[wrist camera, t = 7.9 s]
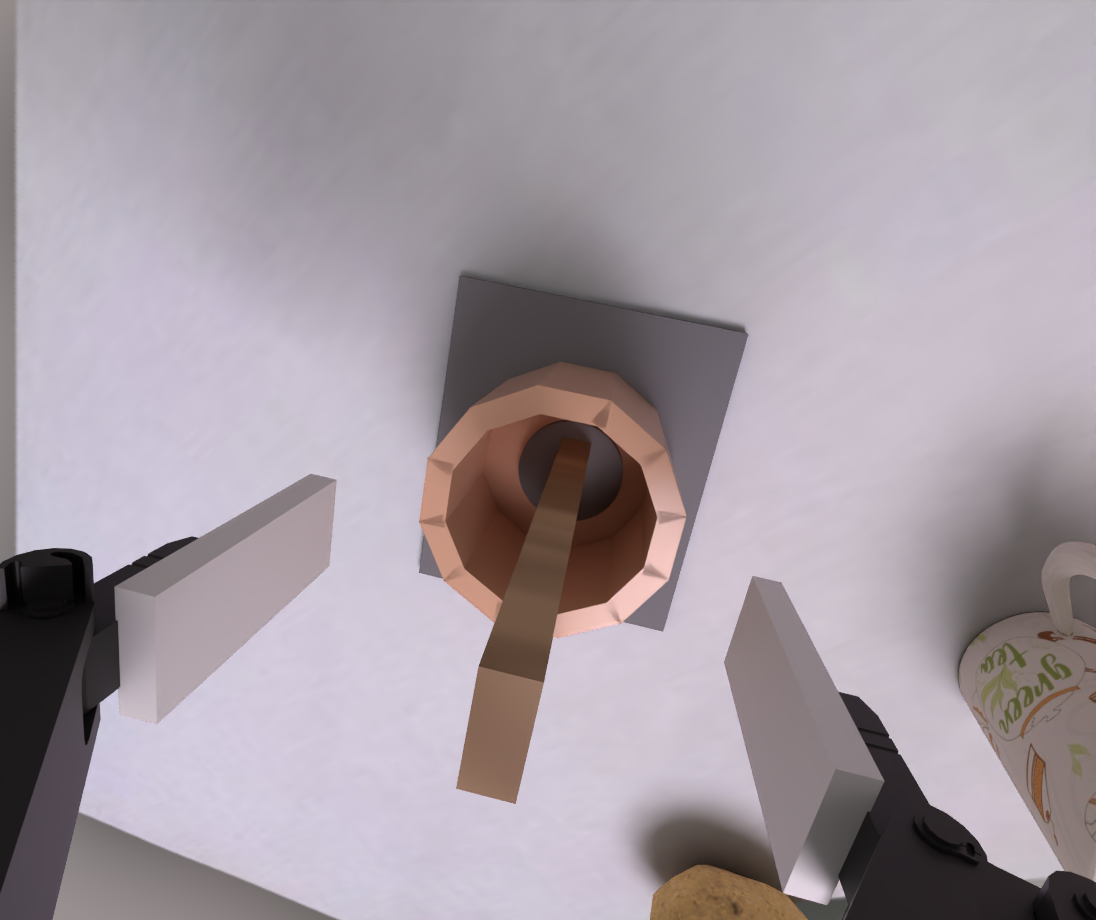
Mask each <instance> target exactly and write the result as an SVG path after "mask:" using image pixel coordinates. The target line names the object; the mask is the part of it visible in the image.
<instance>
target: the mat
mask: <svg viewBox="0 0 1096 920" xmlns="http://www.w3.org/2000/svg"><path fill="white" fill-rule="evenodd" d="M747 337H748V334H747V333H743V332H738V331H733V330H728V329H723V328H718V327H713V326H708V325H703V324H698V323H693V322H688V321H683V320H678V319H673V318H668V317H663V316H658V315H653V314H648V313H643V312H638V311H633V310H628V309H623V308H618V307H613V306H608V305H603V304H598V303H593V302H588V301H583V300H578V299H573V298H568V297H563V296H558V295H553V294H548V293H544V292H539V291H534V290H529V289H524V288H519V287H514V286H509V285H504V284H499V283H494V282H489V281H484V280H479V279H474V278H469V277H464V276H460V278H459V285H458V293H457V300H456V307H455V314H454V322H453V329H452V336H451V343H450V351H449V358H448V365H447V373H446V380H445V387H444V394H443V402H442V409H441V416H440V424H439V431H438V438H437V445H436V448H437V447H438V446H439V444H440V443H441V442H442V441H443V440H444V438H445V437H446V436H447V435H448V434H449V432H450V431H451V430H452V429H453V428H454V426H455V425H456V424H457V423H458V422H459V420H460V419H461V418H462V417H463V416H464V414H465V413H466V412H467V411H468V410H469V409H470V407H471V406H473V405H474V404H475V403H477V402H478V401H480V400H481V399H482V398H484V397H485V396H486V395H488V394H489V393H490V392H492V391H493V390H495V389H496V388H497V387H499V386H500V385H501V384H503V383H504V382H506V381H507V380H508V379H510V378H513V377H516V376H519V375H522V374H525V373H528V372H531V371H534V370H537V369H540V368H543V367H546V366H549V365H552V364H555V363H558V362H560V361H561V362H566V363H571V364H575V365H580V366H585V367H590V368H595V369H599V370H604V371H609V372H614V373H616V374H618V375H619V376H620V377H621V378H622V379H623V380H624V381H625V382H626V383H627V384H629V385H630V386H631V387H632V388H633V389H634V390H635V391H636V392H637V393H639V394H640V395H641V396H642V397H643V398H644V399H645V400H646V401H647V402H649V403H650V404H651V405H652V406H653V407H654V408H655V409H656V410H657V411H658V415H659V418H660V421H661V425H662V428H663V431H664V435H665V438H666V441H667V445H668V448H669V451H670V454H671V458H672V461H673V464H674V468H675V472H676V476H677V480H678V484H679V488H680V492H681V496H682V500H683V503H684V507H685V511H686V515H687V517H686V520H685V524H684V528H683V531H682V535H681V538H680V542H679V545H678V549H677V552H676V556H675V559H674V563H673V567H672V570H671V574H670V577H669V581H667V582H666V583H665V584H664V585H663V586H662V587H661V588H659V589H658V590H657V591H656V592H655V593H654V594H653V595H652V596H651V597H650V598H648V599H647V600H646V601H645V602H644V603H643V604H642V605H641V606H640V607H639V608H637V609H636V610H635V611H634V612H633V613H632V614H631V615H630V616H629V617H628V618H626V619H625V620H624V621H623V622H626V623H630V624H634V625H638V626H643V627H647V628H651V629H655V630H659V631H663V630H664V626H665V623H666V619H667V616H668V612H669V609H670V605H671V602H672V598H673V595H674V591H675V588H676V584H677V581H678V577H679V574H680V571H681V567H682V564H683V560H684V557H685V553H686V550H687V546H688V543H689V539H690V536H691V532H692V529H693V525H694V522H695V518H696V515H697V511H698V508H699V504H700V501H701V497H702V494H703V490H704V487H705V483H706V480H707V476H708V473H709V470H710V466H711V463H712V459H713V456H714V452H715V449H716V445H717V442H718V438H719V435H720V431H721V428H722V424H723V421H724V417H725V414H726V410H727V407H728V403H729V400H730V396H731V393H732V389H733V386H734V382H735V379H736V375H737V372H738V368H739V365H740V362H741V358H742V355H743V351H744V348H745V344H746V341H747ZM419 573H422V574H426V575H431V576H435V577H439V578H443V577H442V575H441V572H440V570H439V568H438V565H437V563H436V560H435V558H434V556H433V553H432V551H431V548H430V546H429V544H428V541H427V539H426V536H425V534H424V540H423V547H422V555H421V562H420V569H419Z"/></svg>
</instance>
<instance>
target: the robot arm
mask: <svg viewBox="0 0 1096 920" xmlns="http://www.w3.org/2000/svg"><path fill="white" fill-rule="evenodd" d="M335 492H336V480H335V479H331V478H327V477H322V476H318V475H314V474H310V475H308V476H306V477H305V478H303V479H301V480H299V481H298V482H296V483H294V484H292V485H291V486H289V487H287V488H285V489H284V490H282V491H280V492H278V493H277V494H275V495H273V496H271V497H270V498H268V499H266V500H264V501H263V502H261V503H259V504H258V505H256V506H254V507H252V508H251V509H249V510H247V511H245V512H244V513H242V514H240V515H238V516H237V517H235V518H233V519H231V520H230V521H228V522H226V523H224V524H223V525H221V526H219V527H217V528H216V529H214V530H212V531H211V532H209V533H207V534H205V535H204V536H202V537H200V538H196V537H188V538H185V539H181V540H178V541H174V542H171V543H167V544H165V545H164V546H162V547H160V548H158V549H156V550H154V551H153V552H151V553H149V554H148V556H143V557H142V558H140V559H138V560H136V561H134V562H133V563H132V565H127V566H125V567H123V568H121V569H120V570H118V571H116V572H114V573H112V574H110V575H109V576H107V577H105V578H103V579H101V580H99V581H98V582H96V583H94V581H93V563H92V557H91V556H90V555H88V554H87V553H85V552H83V551H79V550H74V549H63V548H51V549H43V550H35V551H31V552H27V553H23V554H19V555H16V556H14V557H12V558H10V559H7V560H5V561H3V562H2V563H1V564H0V920H52V919H53V915H54V911H55V906H56V902H57V898H58V894H59V890H60V885H61V881H62V877H63V873H64V869H65V865H66V861H67V856H68V852H69V848H70V844H71V840H72V835H73V831H74V827H75V823H76V819H77V815H78V810H79V806H80V802H81V798H82V794H83V790H84V785H85V781H86V777H87V773H88V769H89V765H90V760H91V756H92V752H93V748H94V744H95V740H96V735H97V731H98V727H99V723H100V702H101V701H103V700H104V699H105V698H107V697H108V696H109V695H110V694H112V693H113V692H114V691H116V690H117V689H118V695H119V714H120V715H124V716H128V717H131V718H135V719H139V720H143V721H146V722H150V723H154V724H158V723H159V722H160V721H161V720H162V719H163V718H164V717H165V716H166V715H167V714H169V713H170V712H171V711H172V710H173V709H174V708H175V707H176V706H177V705H178V704H179V703H181V702H182V701H183V700H184V699H185V698H186V697H187V696H188V695H189V694H190V693H191V692H193V691H194V690H195V689H196V688H197V687H198V686H199V685H200V684H201V683H202V682H203V681H205V680H206V679H207V678H208V677H209V676H210V675H211V674H212V673H213V672H214V671H215V670H217V669H218V668H219V667H220V666H221V665H222V664H223V663H224V662H225V661H226V660H227V659H229V658H230V657H231V656H232V655H233V654H234V653H235V652H236V651H237V650H238V649H239V648H241V647H242V646H243V645H244V644H245V643H246V642H247V641H248V640H249V639H250V638H251V637H253V636H254V635H255V634H256V633H257V632H258V631H259V630H260V629H261V628H262V627H263V626H265V625H266V624H267V623H268V622H269V621H270V620H271V619H272V618H273V617H274V616H275V615H277V614H278V613H279V612H280V611H281V610H282V609H283V608H284V607H285V606H286V605H287V604H289V603H290V602H291V601H292V600H293V599H294V598H295V597H296V596H297V595H298V594H299V593H301V592H302V591H303V590H304V589H305V588H306V587H307V586H308V585H309V584H310V583H311V582H313V581H314V580H315V579H316V578H317V577H318V576H319V575H320V574H321V573H322V572H323V571H325V570H326V569H327V568H328V567H329V562H330V550H331V539H332V527H333V515H334V504H335ZM724 663H725V667H726V671H727V675H728V679H729V683H730V687H731V691H732V695H733V699H734V703H735V707H736V710H737V714H738V718H739V722H740V726H741V730H742V734H743V738H744V742H745V746H746V750H747V754H748V758H749V762H750V766H751V769H752V773H753V777H754V781H755V785H756V789H757V793H758V797H759V801H760V805H761V809H762V813H763V817H764V821H765V824H766V828H767V832H768V836H769V840H770V844H771V848H772V852H773V856H774V860H775V864H776V868H777V872H778V876H779V880H780V883H781V887H782V891H783V893H784V894H788V895H792V896H795V897H799V898H803V899H806V900H810V901H814V902H818V903H822V904H825V905H828V903H829V901H830V899H831V897H832V894H833V892H834V890H835V888H836V886H837V884H838V881H839V879H840V882H841V885H842V888H843V891H844V893H845V896H846V899H847V902H848V907H847V909H846V911H845V913H844V915H843V917H842V919H841V920H1096V882H1094V881H1093V880H1091V879H1089V878H1086V877H1083V876H1081V875H1078V874H1075V873H1073V872H1067V871H1055V872H1054V873H1052V874H1051V875H1050V876H1048V878H1047V880H1046V881H1045V883H1044V885H1043V886H1042V888H1039V887H1037V886H1035V885H1033V884H1031V883H1029V882H1027V881H1025V880H1023V879H1021V878H1019V877H1017V876H1015V875H1012V874H1010V873H1008V872H1006V871H1004V870H1002V869H1000V868H998V867H996V866H994V865H993V864H991V863H989V862H988V861H987V855H986V854H985V852H984V850H983V849H982V847H981V845H980V844H979V842H978V840H977V839H976V838H975V837H974V836H973V835H972V834H971V833H970V832H969V831H968V830H967V829H966V828H965V827H964V826H963V825H961V824H960V823H959V822H957V821H956V820H955V819H953V818H952V817H951V816H949V815H948V814H947V813H945V812H943V811H941V810H939V809H937V808H935V807H933V806H931V805H930V804H929V803H928V801H927V799H926V798H925V796H924V794H923V792H922V791H921V789H920V787H919V786H918V784H917V782H916V780H915V779H914V777H913V775H912V774H911V772H910V770H909V768H908V767H907V765H906V763H905V762H904V760H903V758H902V756H901V755H899V754H898V750H897V748H896V746H895V744H894V743H893V741H892V739H890V738H889V734H888V732H887V731H886V729H885V727H884V726H883V724H882V722H881V720H880V719H879V717H878V715H877V714H875V713H874V712H873V711H872V710H871V709H870V708H869V707H868V706H867V705H866V704H865V703H864V702H863V701H862V700H861V699H860V698H859V697H857V696H853V695H849V694H845V693H841V692H838V691H837V689H836V687H835V685H834V683H833V681H832V679H831V677H830V675H829V673H828V671H827V669H826V668H825V666H824V664H823V662H822V660H821V658H820V656H819V654H818V652H817V650H816V648H815V646H814V644H813V643H812V641H811V639H810V637H809V635H808V633H807V631H806V629H805V627H804V625H803V623H802V621H801V619H800V618H799V616H798V614H797V612H796V610H795V608H794V606H793V604H792V602H791V600H790V598H789V596H788V594H787V592H786V591H785V589H784V587H783V585H782V583H781V582H777V581H772V580H768V579H764V578H759V577H755V576H752V579H751V582H750V585H749V588H748V591H747V594H746V597H745V600H744V604H743V607H742V610H741V613H740V616H739V619H738V622H737V625H736V628H735V631H734V634H733V637H732V640H731V643H730V646H729V649H728V652H727V655H726V658H725V661H724Z"/></svg>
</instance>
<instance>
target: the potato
mask: <svg viewBox="0 0 1096 920" xmlns="http://www.w3.org/2000/svg"><path fill="white" fill-rule="evenodd" d="M650 920H808V919H807V918H806V917H805V915H804V914H803V913H802V912H801V911H800V910H799V909H798V908H797V906H796V905H795V904H794V903H793V902H792V901H791V900H790V898H789V897H788V896H787V895H786V894H784V893H783V892H781V891H779V890H777V889H775V888H773V887H771V886H769V885H768V884H765V883H762V882H759V881H756V880H753V879H750V878H746V877H743V876H740V875H737V874H735V873H732V872H730V871H727V870H724V869H721V868H717V867H714V866H710V865H696V866H694V867H692V868H690V869H688V870H686V871H684V872H682V873H680V874H678V875H676V876H674V877H673V878H671V879H670V880H669V881H667V882H666V883H665V884H664V885H663V886H661V887H660V888H659V889H658V890H657V891H656V892H655V893H654V894H653V900H652V908H651V915H650Z"/></svg>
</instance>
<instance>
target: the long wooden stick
mask: <svg viewBox="0 0 1096 920" xmlns="http://www.w3.org/2000/svg"><path fill="white" fill-rule="evenodd" d="M518 473H519V480H520V484H521V487H522V489H523V492H524V494H525V495H526V497H527V498H528V500H529V501H530V502H531V503H532V504H533V505H534V506H535V507H536V508H537V509H536V512H535V515H534V517H533V520H532V523H531V525H530V528H529V531H528V534H527V536H526V539H525V542H524V544H523V547H522V550H521V553H520V555H519V558H518V561H517V564H516V566H515V569H514V572H513V574H512V577H511V580H510V583H509V585H508V588H507V591H506V593H505V596H504V599H503V602H502V604H501V607H500V610H499V612H498V615H497V618H496V621H495V623H494V626H493V629H492V632H491V634H490V637H489V640H488V642H487V645H486V648H485V651H484V653H483V656H482V659H481V661H480V664H479V667H478V673H477V678H476V684H475V689H474V695H473V700H472V706H471V711H470V717H469V722H468V727H467V733H466V738H465V744H464V749H463V755H462V760H461V766H460V771H459V777H458V782H457V787H456V789H460V790H464V791H468V792H472V793H476V794H479V795H483V796H487V797H491V798H495V799H499V800H502V801H506V802H510V803H514V804H516V800H517V795H518V791H519V787H520V782H521V778H522V774H523V770H524V765H525V761H526V757H527V752H528V748H529V744H530V740H531V735H532V731H533V727H534V722H535V718H536V714H537V709H538V705H539V701H540V697H541V692H542V688H543V684H544V679H545V674H546V669H547V664H548V659H549V654H550V649H551V644H552V639H553V634H554V629H555V624H556V619H557V614H558V609H559V604H560V599H561V594H562V589H563V584H564V579H565V574H566V569H567V564H568V559H569V554H570V549H571V544H572V539H573V534H574V529H575V524H576V521H581V520H586V519H589V518H592V517H594V516H597V515H599V514H600V513H602V512H603V511H605V510H606V509H607V508H608V507H609V506H610V505H611V504H612V503H613V501H614V500H615V499H616V497H617V495H618V493H619V491H620V488H621V485H622V479H623V463H622V458H621V455H620V452H619V450H618V448H617V446H616V444H615V443H614V441H613V440H612V439H611V438H610V437H609V436H608V435H607V434H606V433H604V432H603V431H602V430H601V429H600V428H598V427H597V426H594V425H589V424H585V423H580V422H575V421H571V420H560V421H556V422H553V423H550V424H548V425H546V426H544V427H542V428H541V429H539V430H538V431H537V432H536V433H535V434H534V435H532V437H531V438H530V439H529V440H528V442H527V444H526V446H525V447H524V449H523V451H522V454H521V456H520V460H519V467H518Z"/></svg>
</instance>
